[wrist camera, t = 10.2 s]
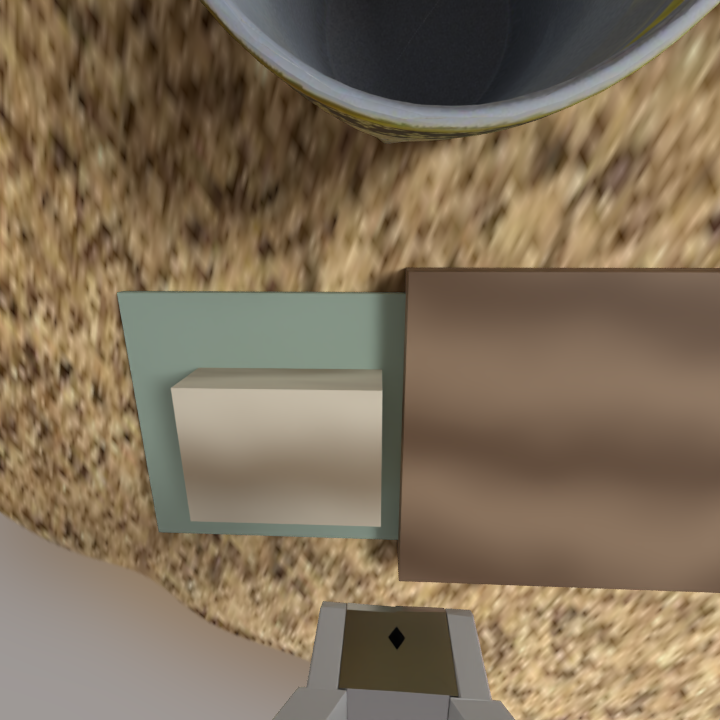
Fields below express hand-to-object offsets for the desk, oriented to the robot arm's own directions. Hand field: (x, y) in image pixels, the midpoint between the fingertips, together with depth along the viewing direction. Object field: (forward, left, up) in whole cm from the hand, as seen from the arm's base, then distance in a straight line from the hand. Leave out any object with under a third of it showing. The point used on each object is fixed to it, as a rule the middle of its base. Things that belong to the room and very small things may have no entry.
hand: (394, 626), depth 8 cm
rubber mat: (+1, -5, -11) cm, 12 cm away
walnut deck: (+1, +9, -11) cm, 14 cm away
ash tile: (+1, -4, -10) cm, 11 cm away
